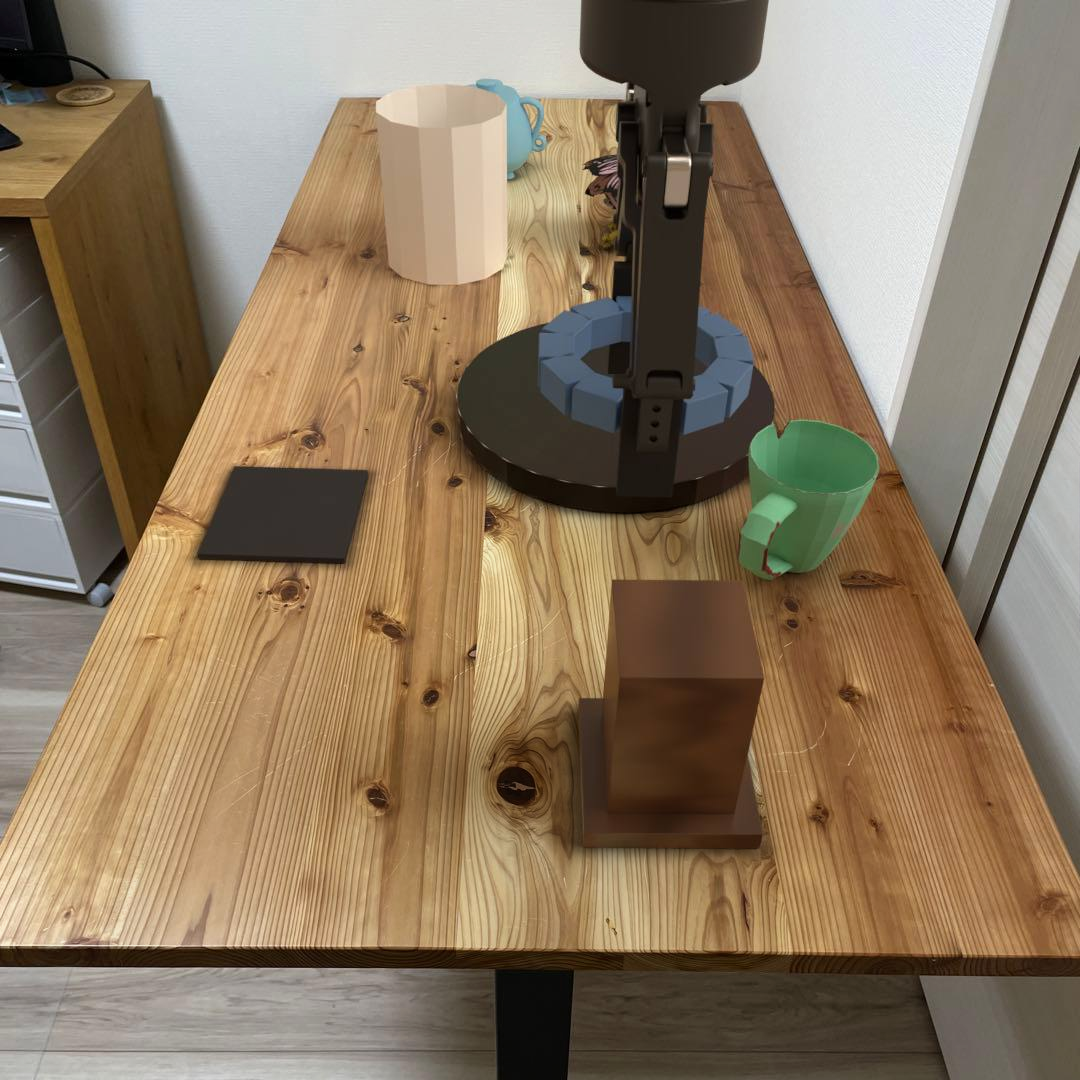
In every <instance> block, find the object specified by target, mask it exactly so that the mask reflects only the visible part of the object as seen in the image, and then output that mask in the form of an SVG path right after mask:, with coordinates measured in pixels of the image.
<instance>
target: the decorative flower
mask: <svg viewBox="0 0 1080 1080" xmlns="http://www.w3.org/2000/svg"><path fill="white" fill-rule="evenodd" d="M582 165H583V166H584V167H583V169H582V171H585V170H588V171H589V173H591V176H593V177H595V179H593V180H592V181H591V182H590V183H589V184H588V186H587V187H586V189H585V190H584V195H586V196H589V197H593V198H594V197H595V196H597V195H602V194H603V195H604V196H605V197H606V199H608V200H609V202H608V204H610V205H612V208H611V209H612V210H616V204H617V193H618V182H619V178H618V176H617V153H616V154H609V155H603V156H598V157H595V158H593V159H590V160H587V161H585V163H583V164H582ZM607 229H608V230H609V231H611V233H610V234H609V233H604V234H602V236H601V241H602V243H601V246H602V248H603V249H604V250H609V249H611V247H612V244H611V241H612V240H615V239H616V236H617V232H618V231H616V230H615V224H613V221H609V222H608V223H607Z"/></svg>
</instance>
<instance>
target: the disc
mask: <svg viewBox="0 0 1080 1080" xmlns="http://www.w3.org/2000/svg"><path fill="white" fill-rule="evenodd" d="M549 322H550V321H548V322H543V323H540V324H536V325H533V326H530V327H526V328H523V329H520V330H518V331H516V332H513V333H510V334H508V335H507V336H504V337H502V338H500V339H498V340H497V341H495V342H494V343H492V344H490V345H488V346H487V347H486V348H484V349H482V350H481V351H480V352H479V353H478V354H477V355H476V356H475V357H474V358H473V359H472V360H471V361H470V362H469V363H468V364H467V366H466V368H465V369H464V371H463V373H462V375H461V376H460V378H459V381H458V385H457V390H456V395H455V397H456V403H457V410H458V425H459V431H460V437H461V439H462V441H463V443H464V445H465V447H466V449H467V451H468V452H469V454H470V455H471V456H472V457H473V459H475V461H476V462H477V464H479V465H480V466H481V467H482V468H483V469H484V470H485V471H487V472H488V473H489V474H491V476H494V477H495V478H497V479H498V480H499V481H501V482H502V483H504V484H505V485H506V486H509V487H511V488H513V489H515V490H518V491H519V492H522V493H524V494H526V495H529V496H530V497H533V498H536V499H540V500H543V501H546V502H550V503H553V504H557V505H559V506H564V507H569V508H576V509H581V510H587V511H594V512H612V513H613V512H614V513H640V512H653V511H665V510H668V509H673V508H678V507H683V506H687V505H692V504H695V503H698V502H701V501H704V500H707V499H708V498H712V497H715V496H716V495H719V494H722V493H724V492H725V491H727V490H729V489H730V488H731V487H733V486H735V485H736V484H738V483H739V482H742V481H743V480H744V479H745V478H746V477H747V476H748V475H749V447H750V443H751V441H752V440H753V438H754V436H755V435H756V434H757V433H758V432H760V431H761V430H762V429H764V428H765V427H767V426H769V425H773V424H774V418H775V410H776V403H775V402H776V401H775V398H774V394H773V389H772V387H771V386H770V384H769V382H768V381H767V379H766V377H765V376H764V374H763V373H762V371H760V369H758V367H756V366H755V365H753V371H752V377H751V383H750V389H749V393H748V396H747V397H746V399H745V400H744V401H743V402H742V403H741V405H740V406H739V407H738V408H737V409H736V411H735V412H734V413H733V414H732V416H731V417H730V418H727V417H724V422H722V423H719V424H716V425H713V426H710V427H707V428H704V429H701V430H697V431H694V432H691V433H688V434H685V435H682V434H681V433H680V435H679V444H678V452H677V461H676V469H675V478H674V486H673V495H672V497H617V496H616V479H617V466H618V452H619V439H620V429H619V430H618V431H617V432H616V433H611V432H608V431H605V430H603V429H600V428H597V427H594V426H591V425H588V424H585V423H582V422H579V421H576V420H573V419H572V418H571V416H572V413H571V414H567V415H564V414H563V413H561V412H560V411H559V410H558V409H557V408H556V407H555V406H554V405H553V404H552V403H551V402H550V401H549V400H548V399H547V398H546V397H545V396H544V395H543V394H542V393H541V387H538V353H539V333H542V328H543V327H545V326H546V325H547V324H548V323H549ZM608 351H609V345H607V346H603V347H600V348H596V349H593V350H590V351H589V352H587V353H586V354H585V355H584V356H583V357H582V358H581V359H580V360H581V361H582V362H584V363H585V364H586V365H587V366H588V367H589V368H590V369H591V370H593V371H594V372H595V373H597V374H600V375H604V376H607V377H610V378H612V375H614V374H608ZM707 368H708V367H707V366H706V365H705V364H703V363H702V362H701V361H700V360H698V359H697V358H696V357H695V365H694V377H695V376H698V375H701V374H703V373H704V372H705V371H706V369H707ZM616 375H624V374H616Z"/></svg>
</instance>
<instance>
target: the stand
mask: <svg viewBox="0 0 1080 1080" xmlns="http://www.w3.org/2000/svg"><path fill="white" fill-rule="evenodd" d="M759 651H760V650H759V648H758V641H757V636H756V633H755V629H754V624H753V619H752V614H751V611H750V605H749V601H748V596H747V591H746V586H745V582H744V580H739V579H738V580H733V579H732V580H731V579H729V580H725V579H724V580H723V579H722V580H721V579H622V578H621V579H618V578H617V579H611V585H610V599H609V611H608V625H607V638H606V651H605V652H606V653H605V664H604V665H605V667H604V678H603V679H604V680H603V691H602V692H603V693H602V697H579V698H578V714H577V717H578V736H579V737H578V739H579V741H578V742H579V762H580V763H579V767H580V768H579V769H580V794H581V795H580V796H581V797H580V798H581V819H582V820H581V821H582V823H581V824H582V847H583V848H626V849H627V848H633V849H634V848H635V849H636V848H637V849H638V848H639V849H640V848H641V849H643V848H645V849H651V848H652V849H653V848H655V849H657V848H658V849H760V847H761V842H762V839H763V835H764V834H763V827H762V823H761V819H760V813H759V808H758V807H759V806H758V802H757V796H756V790H755V786H754V781H753V775H752V769H751V764H750V758H749V750H750V746H751V741H752V738H753V732H754V728H755V723H756V718H757V713H758V710H759V705H760V700H761V695H762V690H763V687H764V682H765V675H764V671H763V670H764V669H763V666H762V661H761V656H760V652H759Z"/></svg>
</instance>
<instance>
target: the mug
mask: <svg viewBox="0 0 1080 1080" xmlns="http://www.w3.org/2000/svg"><path fill="white" fill-rule="evenodd" d="M880 468H881V467H880V460H879V455H878V454H877V453H876V450H874V449H873V446H872V445H871V444H870V443H869V442H868V441H866V440H865V439H864V438H862V437H861V436H860V435H858V434H857V433H855V432H853V431H852V430H849V429H847V428H845V427H843V426H841V425H837V424H833V423H829V422H826V421H823V420H814V419H813V420H811V419H794V420H788V422H787V423H786V425H785V426H784V427H783V430H782V433H781V434H780V435H779V437H778V430H777V428H776V425H775V423H773V424H772V425H769V426H767V427H765V428H764V429H762V430H761V431H760V432H758V433H757V434H756V435H755V436H754V438H753V440H752V441H751V443H750V447H749V474H748V475H749V490H750V499H751V510H750V511H749V512H748V513H747V515H746V517H745V519H744V522H743V524H742V526H741V527H740V530H739V534H738V535H739V536H738V546H737V554H736V559H737V561H738V562H739V563H740V565H741V566H742V567H743V568H745V569H746V570H748V571H749V572H750V573H752V574H754V575H755V576H757V577H759V578H760V579H764V580H767V581H772V580H775V579H777V578H778V577H780V576H781V575H783V574H784V573H787V572H788V573H793V574H794V573H795V574H802V573H809V572H812V571H814V570H816V569H817V568H818V567H819V566H820V565H821V564H822V563H824V561H825V560H826V559H827V557H828V556H829V555H831V553H832V552H833V551H834V550H835V549H836V547H837V546H838V545H839V543H840V542H841V540H842V539H843V538H844V536H845V535H847V532H848V531H849V529H850V528H851V526H852V525H853V523H854V522H855V520H856V519H857V517H858V515H859V514H860V512H861V510H862V508H863V506H864V504H865V503H866V500H867V499H868V496H869V494H870V493H871V491H872V489H873V486H874V484H875V482H876V479H877V477H878V475H879V472H880Z"/></svg>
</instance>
